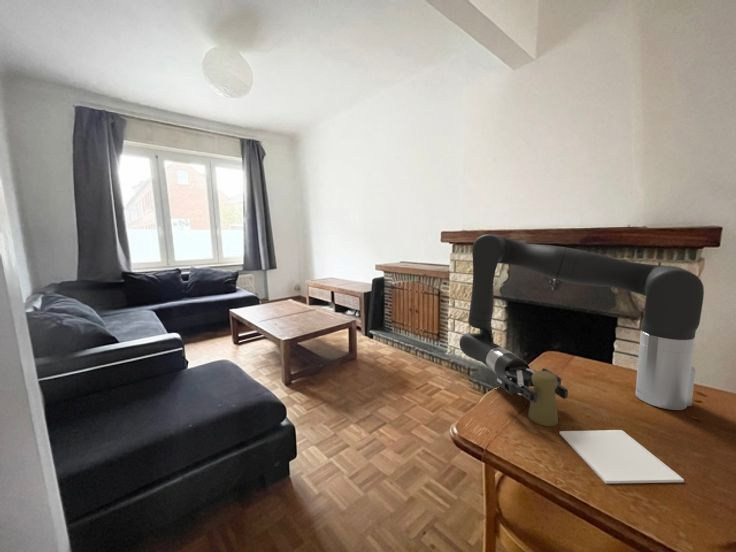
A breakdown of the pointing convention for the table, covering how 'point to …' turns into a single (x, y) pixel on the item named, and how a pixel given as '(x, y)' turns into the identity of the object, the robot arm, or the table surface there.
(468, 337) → the robot arm
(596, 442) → the white mat
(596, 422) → the table surface
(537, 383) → the cork
